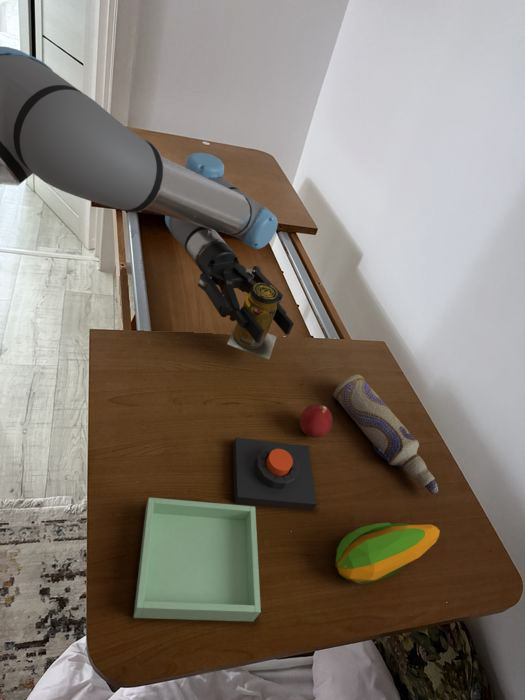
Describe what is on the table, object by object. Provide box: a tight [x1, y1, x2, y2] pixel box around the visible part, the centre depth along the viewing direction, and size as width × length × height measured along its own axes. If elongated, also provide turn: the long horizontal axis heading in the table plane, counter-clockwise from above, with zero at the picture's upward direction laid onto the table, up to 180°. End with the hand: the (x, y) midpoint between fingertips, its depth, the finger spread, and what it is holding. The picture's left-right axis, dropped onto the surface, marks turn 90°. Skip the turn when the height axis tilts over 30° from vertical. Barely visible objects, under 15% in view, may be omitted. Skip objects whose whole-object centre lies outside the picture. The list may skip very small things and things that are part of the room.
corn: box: [335, 522, 441, 585], centre depth 77 cm, size 7×8×20 cm
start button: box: [266, 449, 293, 476], centre depth 81 cm, size 4×4×2 cm
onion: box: [299, 403, 334, 438], centre depth 90 cm, size 6×6×8 cm
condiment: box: [226, 283, 279, 360], centre depth 94 cm, size 7×8×12 cm
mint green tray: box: [133, 497, 262, 623], centre depth 69 cm, size 16×15×4 cm
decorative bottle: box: [332, 374, 440, 495], centre depth 93 cm, size 26×8×7 cm, turn 33°
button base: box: [232, 437, 318, 511], centre depth 82 cm, size 13×11×4 cm
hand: (275, 332), depth 90 cm, fingers closed on condiment, 6 cm apart
